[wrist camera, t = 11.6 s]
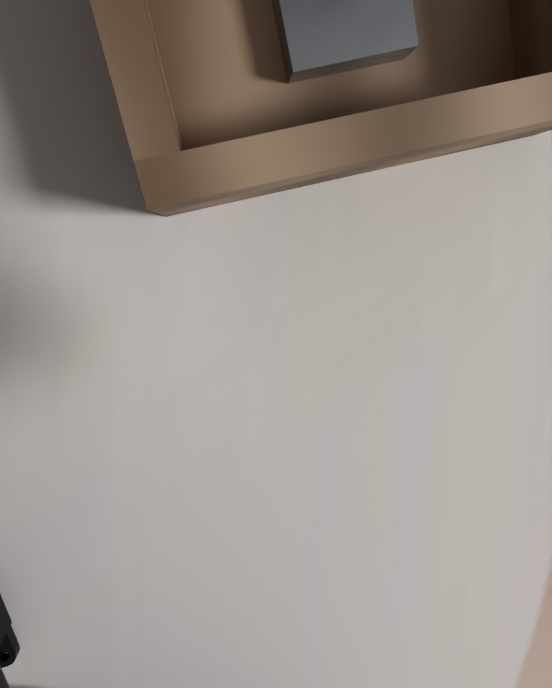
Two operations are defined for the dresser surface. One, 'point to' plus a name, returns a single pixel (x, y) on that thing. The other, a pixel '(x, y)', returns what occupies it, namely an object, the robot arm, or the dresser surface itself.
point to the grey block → (342, 35)
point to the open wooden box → (312, 95)
